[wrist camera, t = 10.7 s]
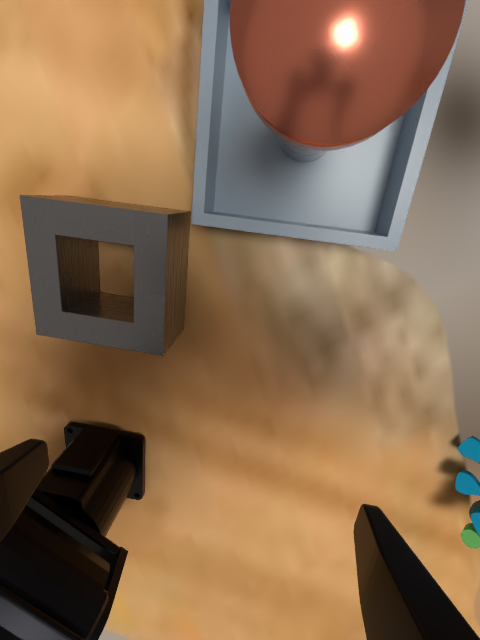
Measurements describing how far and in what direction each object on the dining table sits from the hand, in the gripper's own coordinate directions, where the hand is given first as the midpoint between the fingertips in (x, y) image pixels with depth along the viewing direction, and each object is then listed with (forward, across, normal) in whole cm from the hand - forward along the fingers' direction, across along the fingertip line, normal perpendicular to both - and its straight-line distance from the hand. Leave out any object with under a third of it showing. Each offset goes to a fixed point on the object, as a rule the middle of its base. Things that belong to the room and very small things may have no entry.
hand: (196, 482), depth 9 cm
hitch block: (+13, +8, -2) cm, 15 cm away
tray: (+13, -2, -11) cm, 17 cm away
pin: (+12, -2, -11) cm, 17 cm away
